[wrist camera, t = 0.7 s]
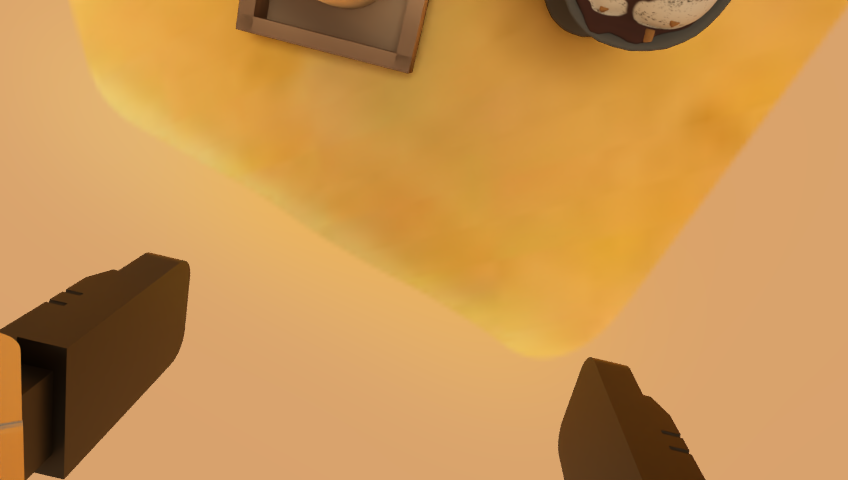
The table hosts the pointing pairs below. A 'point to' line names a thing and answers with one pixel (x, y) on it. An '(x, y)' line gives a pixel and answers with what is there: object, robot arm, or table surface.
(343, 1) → the candle
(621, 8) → the sundae
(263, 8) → the tray
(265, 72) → the table surface
